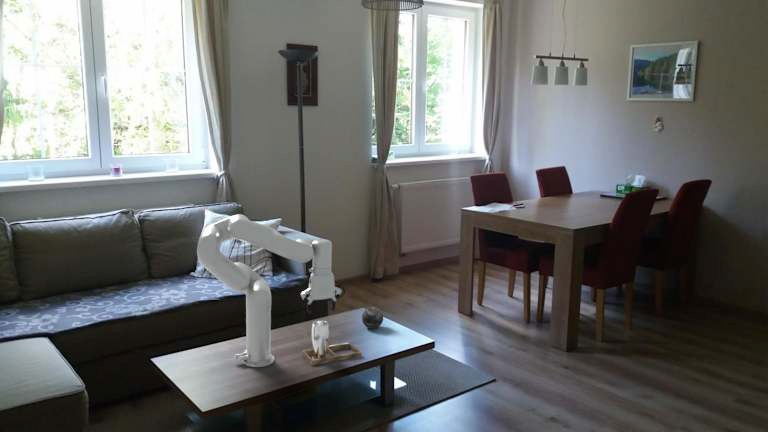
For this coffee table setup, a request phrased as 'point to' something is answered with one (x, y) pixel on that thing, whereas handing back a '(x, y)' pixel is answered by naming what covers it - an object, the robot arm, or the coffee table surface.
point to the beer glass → (320, 339)
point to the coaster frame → (332, 354)
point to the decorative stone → (372, 317)
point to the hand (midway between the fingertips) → (320, 311)
